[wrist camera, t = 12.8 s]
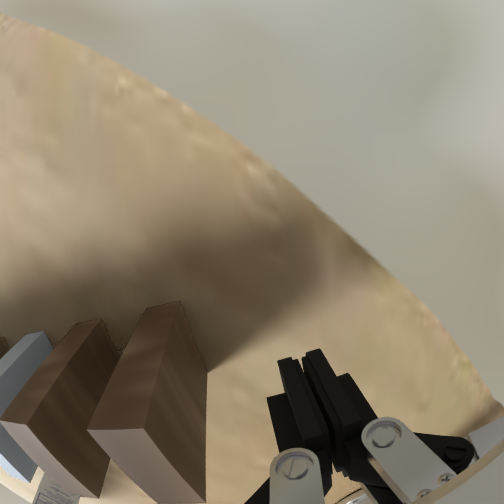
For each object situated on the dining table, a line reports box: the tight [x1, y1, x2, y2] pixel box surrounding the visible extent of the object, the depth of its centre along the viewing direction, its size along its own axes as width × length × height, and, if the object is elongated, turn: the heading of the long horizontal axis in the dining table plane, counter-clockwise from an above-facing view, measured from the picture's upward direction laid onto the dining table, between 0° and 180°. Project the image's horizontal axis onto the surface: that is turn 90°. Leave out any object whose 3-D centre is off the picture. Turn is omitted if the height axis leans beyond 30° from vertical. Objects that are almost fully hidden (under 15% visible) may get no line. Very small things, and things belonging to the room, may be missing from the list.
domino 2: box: [0, 318, 120, 499], centre depth 11 cm, size 2×5×9 cm, turn 13°
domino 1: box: [0, 331, 53, 483], centre depth 11 cm, size 2×5×9 cm, turn 13°
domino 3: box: [87, 301, 207, 504], centre depth 11 cm, size 2×5×9 cm, turn 13°
